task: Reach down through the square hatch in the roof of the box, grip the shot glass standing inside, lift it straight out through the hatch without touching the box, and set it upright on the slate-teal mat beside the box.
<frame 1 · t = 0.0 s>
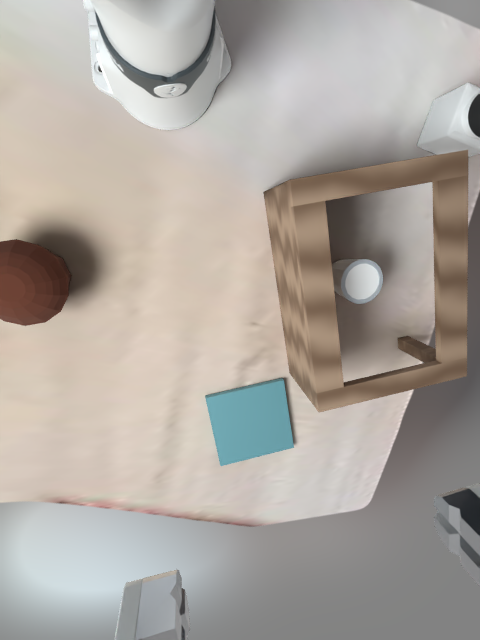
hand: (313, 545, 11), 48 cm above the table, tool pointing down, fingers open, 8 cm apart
shot glass: (341, 275, 60), on the table
muffin: (41, 277, 52), on the table
medicine bottle: (441, 131, 56), on the table
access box: (342, 276, 60), on the table
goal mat: (250, 421, 64), on the table
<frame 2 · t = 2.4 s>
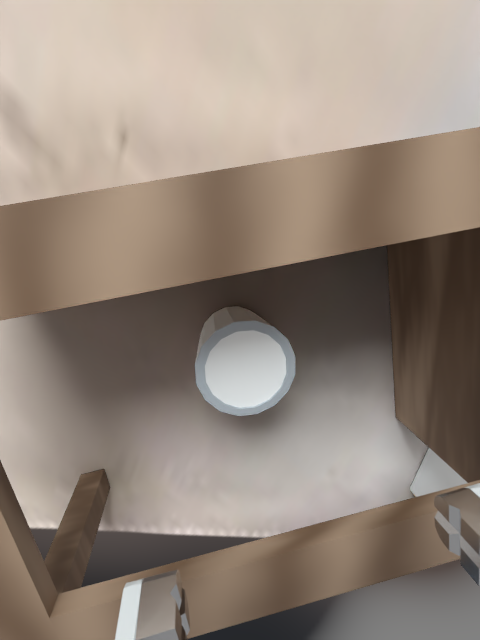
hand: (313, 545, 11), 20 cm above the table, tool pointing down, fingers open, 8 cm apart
shot glass: (232, 337, 30), on the table
medicine bottle: (447, 464, 37), on the table
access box: (233, 338, 30), on the table
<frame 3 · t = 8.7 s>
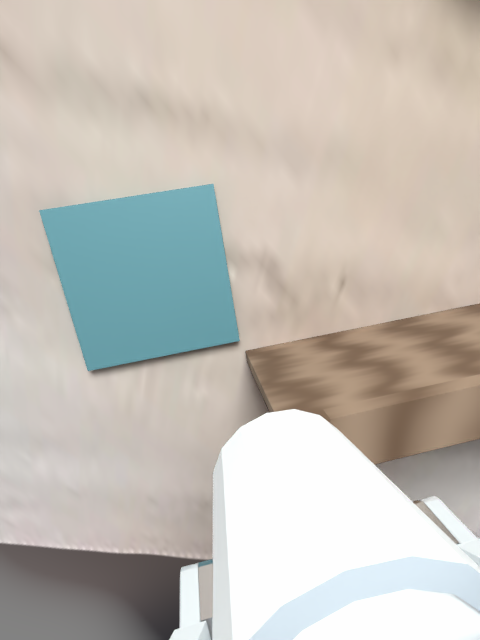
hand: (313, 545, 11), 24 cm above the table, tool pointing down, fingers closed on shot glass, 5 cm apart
shot glass: (281, 469, 14), point 20 cm above the table, touching gripper
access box: (396, 418, 39), on the table
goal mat: (149, 279, 31), on the table
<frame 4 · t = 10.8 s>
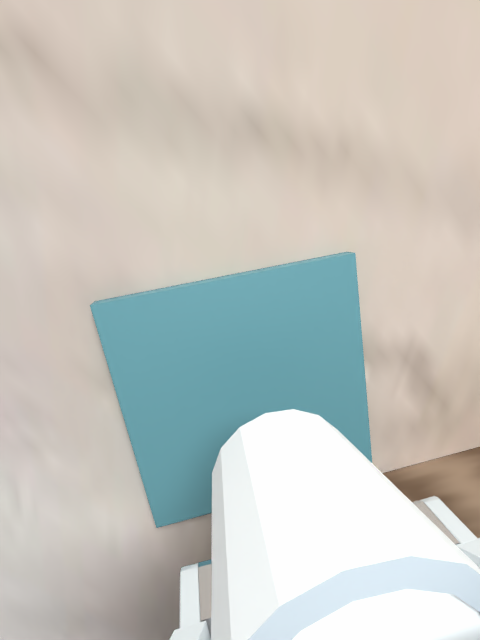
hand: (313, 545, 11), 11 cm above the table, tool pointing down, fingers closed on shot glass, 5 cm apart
shot glass: (280, 469, 14), point 7 cm above the table, touching gripper
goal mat: (247, 390, 21), on the table
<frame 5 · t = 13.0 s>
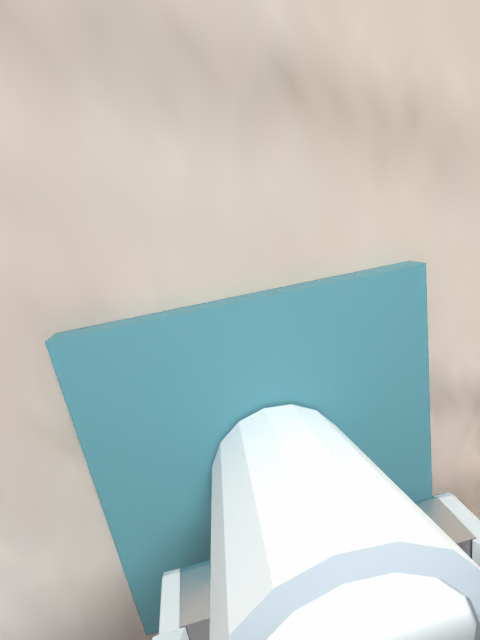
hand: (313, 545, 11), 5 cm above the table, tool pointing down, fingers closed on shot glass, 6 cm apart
shot glass: (279, 463, 14), point 1 cm above the table, touching gripper
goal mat: (269, 449, 15), on the table
when the fingers open (5 cm above the table, at t = 13.0 s): shot glass stays where it is, resting on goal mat.
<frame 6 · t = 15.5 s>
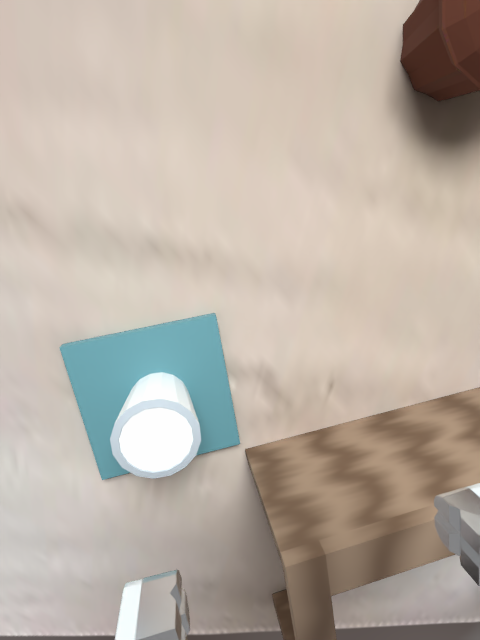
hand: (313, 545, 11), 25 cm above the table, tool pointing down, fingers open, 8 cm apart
shot glass: (159, 398, 34), point 1 cm above the table, touching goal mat
muffin: (441, 48, 32), on the table
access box: (382, 497, 43), on the table
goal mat: (157, 395, 34), on the table
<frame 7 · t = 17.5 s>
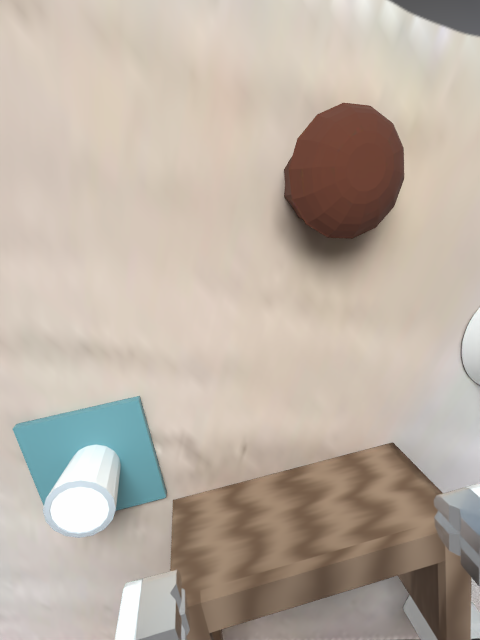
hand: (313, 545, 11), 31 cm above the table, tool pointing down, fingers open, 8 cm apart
shot glass: (96, 464, 42), point 1 cm above the table, touching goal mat
muffin: (320, 183, 39), on the table
medicine bottle: (426, 591, 58), on the table
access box: (297, 536, 50), on the table
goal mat: (96, 460, 43), on the table
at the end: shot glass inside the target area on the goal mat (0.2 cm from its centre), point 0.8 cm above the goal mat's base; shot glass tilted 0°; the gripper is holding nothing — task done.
